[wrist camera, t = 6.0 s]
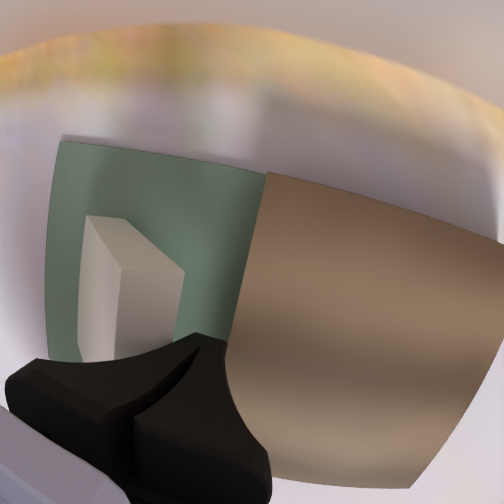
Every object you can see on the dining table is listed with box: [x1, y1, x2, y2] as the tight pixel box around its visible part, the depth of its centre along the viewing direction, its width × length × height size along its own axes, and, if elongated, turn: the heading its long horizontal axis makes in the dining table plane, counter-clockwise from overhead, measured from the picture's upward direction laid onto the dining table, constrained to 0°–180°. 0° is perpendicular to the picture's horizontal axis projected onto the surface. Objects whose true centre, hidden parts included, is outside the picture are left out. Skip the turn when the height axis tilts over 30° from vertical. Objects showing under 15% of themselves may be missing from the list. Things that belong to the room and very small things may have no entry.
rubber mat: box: [45, 141, 267, 362], centre depth 15 cm, size 14×12×1 cm
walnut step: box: [225, 172, 504, 489], centre depth 13 cm, size 14×12×3 cm
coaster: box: [78, 215, 185, 362], centre depth 12 cm, size 7×7×2 cm
